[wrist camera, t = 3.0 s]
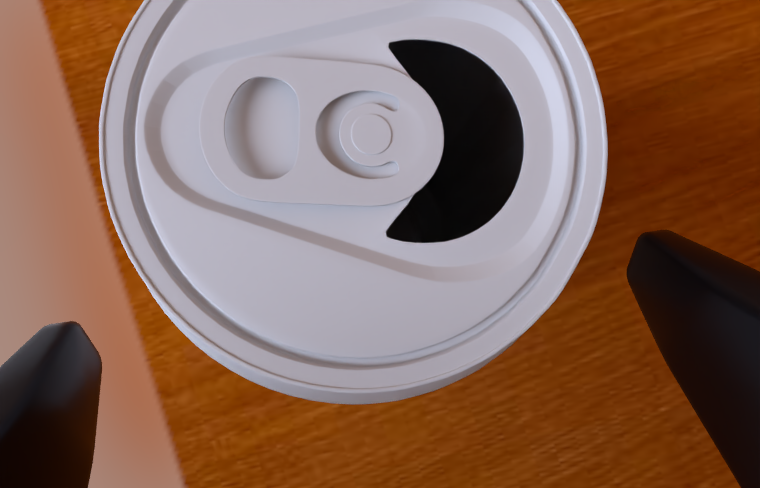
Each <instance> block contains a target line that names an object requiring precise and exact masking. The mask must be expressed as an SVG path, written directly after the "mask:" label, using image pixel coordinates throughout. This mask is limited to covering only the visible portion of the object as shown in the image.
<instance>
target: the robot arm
mask: <svg viewBox="0 0 760 488" xmlns="http://www.w3.org/2000/svg"><path fill="white" fill-rule="evenodd" d="M627 279H628V283H629V285H630V287H631V289H632V292H633V294H634V296H635V298H636V300H637V302H638V304H639V307H640V309H641V311H642V313H643V315H644V317H645V320H646V322H647V324H648V326H649V328H650V330H651V333H652V335H653V337H654V339H655V341H656V343H657V345H658V348H659V350H660V351H661V353H662V355H663V357H664V359H665V361H666V363H667V365H668V366H669V368H670V370H671V372H672V373H673V375H674V377H675V378H676V380H677V382H678V383H679V385H680V387H681V388H682V390H683V392H684V393H685V395H686V397H687V398H688V400H689V402H690V403H691V405H692V407H693V408H694V410H695V412H696V413H697V415H698V417H699V418H700V420H701V422H702V423H703V425H704V427H705V428H706V430H707V432H708V433H709V435H710V437H711V438H712V440H713V442H714V443H715V445H716V447H717V448H718V450H719V452H720V453H721V455H722V457H723V458H724V460H725V462H726V463H727V465H728V467H729V468H730V470H731V472H732V473H733V475H734V477H735V478H736V480H737V482H738V483H739V485H740V487H741V488H760V272H759V271H757V270H755V269H753V268H751V267H748V266H746V265H744V264H742V263H740V262H737V261H735V260H733V259H731V258H729V257H726V256H724V255H722V254H720V253H718V252H715V251H713V250H711V249H709V248H707V247H705V246H702V245H700V244H698V243H696V242H694V241H691V240H689V239H687V238H685V237H683V236H680V235H678V234H676V233H674V232H672V231H669V230H657V231H651V232H645V233H643V234H641V235H640V236H639V237H638V239H637V242H636V244H635V247H634V250H633V253H632V256H631V258H630V261H629V264H628V267H627ZM101 374H102V362H101V357H100V355H99V353H98V351H97V350H96V348H95V347H94V345H93V344H92V342H91V340H90V339H89V337H88V336H87V334H86V333H85V331H84V330H83V328H82V327H81V326H80V324H78V323H77V322H73V321H70V322H62V323H56V324H50V325H47V326H45V327H43V328H42V329H41V330H39V331H38V332H37V333H36V334H35V335H34V336H33V337H32V338H31V339H30V340H29V341H27V342H26V343H25V345H23V346H22V347H21V348H20V349H19V350H18V351H17V352H16V353H15V354H14V355H13V356H11V357H10V358H9V359H8V360H7V361H6V362H5V363H4V364H3V365H2V366H1V367H0V488H88V483H89V479H90V473H91V468H92V463H93V455H94V447H95V436H96V426H97V415H98V406H99V395H100V385H101Z"/></svg>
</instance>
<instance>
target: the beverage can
mask: <svg viewBox="0 0 760 488" xmlns="http://www.w3.org/2000/svg"><path fill="white" fill-rule="evenodd" d="M99 155H100V170H101V175H102V181H103V186H104V191H105V196H106V200H107V205H108V208H109V211H110V215H111V218H112V220H113V223H114V225H115V228H116V230H117V233H118V235H119V238H120V240H121V242H122V244H123V246H124V248H125V250H126V252H127V255H128V256H129V258H130V260H131V262H132V263H133V265H134V267H135V268H136V270H137V272H138V273H139V275H140V277H141V278H142V279H143V281H144V282H145V284H146V285H147V287H148V289H149V291H150V292H151V294H152V296H153V297H154V298H155V300H156V301H157V303H158V304H159V305H160V307H161V308H162V309H163V311H164V312H165V314H166V315H167V316H168V317H169V318H170V319H171V320H172V322H173V323H174V324H175V325H176V326H177V327H178V328H179V330H180V331H181V332H183V333H184V334H185V335H186V336H187V337H188V338H189V339H190V340H191V341H192V342H193V343H194V344H195V345H196V346H198V347H199V348H200V349H201V350H203V351H204V352H205V353H206V354H208V355H209V356H210V357H211V358H213V359H214V360H216V361H217V362H219V363H220V364H222V365H223V366H225V367H226V368H228V369H230V370H231V371H233V372H235V373H237V374H239V375H241V376H242V377H244V378H246V379H248V380H250V381H252V382H255V383H257V384H259V385H262V386H264V387H266V388H269V389H272V390H275V391H278V392H281V393H284V394H287V395H290V396H295V397H299V398H304V399H308V400H313V401H320V402H328V403H338V404H372V403H383V402H391V401H397V400H402V399H406V398H410V397H414V396H418V395H421V394H424V393H428V392H431V391H434V390H437V389H440V388H442V387H445V386H447V385H449V384H451V383H454V382H456V381H458V380H460V379H462V378H464V377H466V376H468V375H470V374H472V373H474V372H475V371H477V370H479V369H480V368H482V367H483V366H485V365H486V364H487V363H489V362H490V361H491V360H493V359H494V358H496V357H497V356H498V355H500V354H501V353H502V352H504V351H505V350H506V349H507V348H509V347H510V346H511V345H512V344H513V343H514V342H515V341H516V340H517V339H518V338H519V337H520V336H521V335H522V334H523V333H524V332H525V331H527V330H528V329H529V328H530V327H531V326H532V325H533V324H534V323H535V322H536V321H537V320H538V319H539V318H540V317H541V315H542V314H543V313H544V312H545V311H546V310H547V309H548V308H549V307H550V306H551V305H552V304H553V302H554V301H555V300H556V299H557V297H558V296H559V295H560V293H561V292H562V290H563V289H564V287H565V285H566V284H567V282H568V280H569V279H570V277H571V275H572V273H573V271H574V270H575V268H576V266H577V264H578V262H579V260H580V259H581V257H582V255H583V253H584V251H585V249H586V247H587V245H588V243H589V241H590V239H591V237H592V235H593V232H594V229H595V226H596V223H597V219H598V215H599V212H600V208H601V204H602V199H603V194H604V189H605V183H606V175H607V158H608V139H607V128H606V119H605V111H604V104H603V100H602V95H601V91H600V87H599V84H598V81H597V77H596V74H595V70H594V67H593V64H592V62H591V59H590V57H589V55H588V52H587V50H586V48H585V46H584V44H583V42H582V40H581V38H580V36H579V34H578V32H577V30H576V28H575V27H574V25H573V23H572V22H571V20H570V19H569V17H568V16H567V14H566V13H565V11H564V10H563V8H562V7H561V5H560V4H559V3H558V1H557V0H144V2H143V3H142V5H141V6H140V8H139V9H138V11H137V12H136V14H135V15H134V17H133V19H132V20H131V22H130V24H129V26H128V27H127V29H126V31H125V33H124V35H123V37H122V39H121V41H120V43H119V46H118V48H117V51H116V53H115V56H114V59H113V62H112V64H111V67H110V70H109V73H108V77H107V80H106V85H105V89H104V95H103V101H102V107H101V113H100V122H99Z"/></svg>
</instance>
